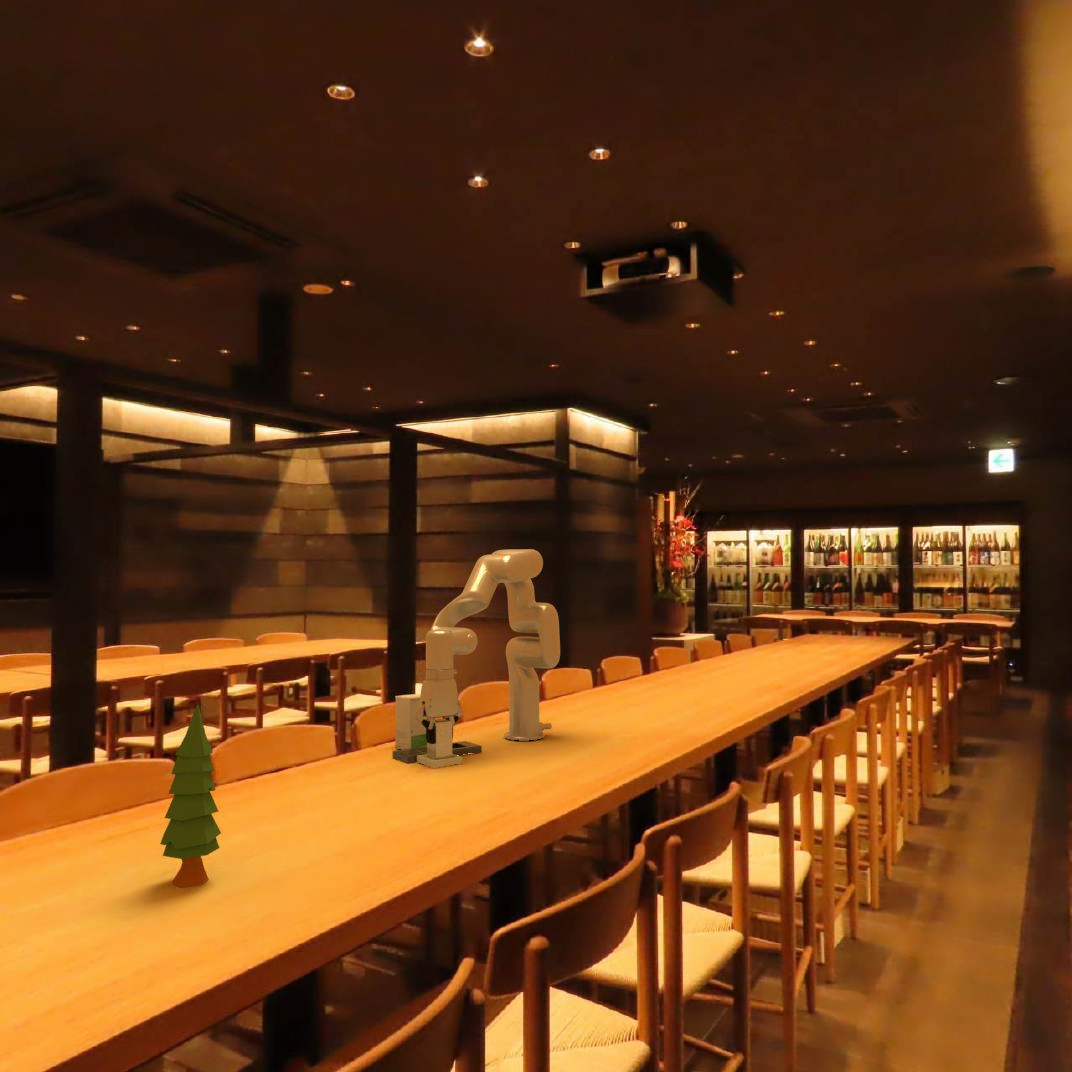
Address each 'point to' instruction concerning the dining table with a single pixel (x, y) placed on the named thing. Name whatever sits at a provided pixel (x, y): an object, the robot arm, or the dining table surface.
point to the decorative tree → (192, 807)
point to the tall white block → (441, 740)
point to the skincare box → (409, 723)
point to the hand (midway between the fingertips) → (439, 741)
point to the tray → (438, 761)
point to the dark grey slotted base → (412, 753)
